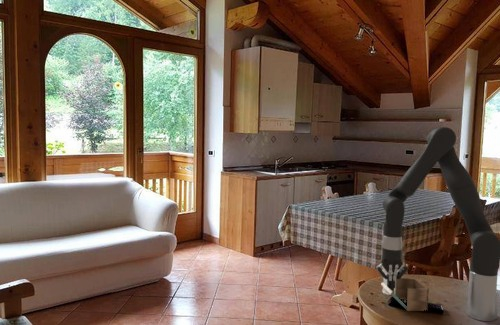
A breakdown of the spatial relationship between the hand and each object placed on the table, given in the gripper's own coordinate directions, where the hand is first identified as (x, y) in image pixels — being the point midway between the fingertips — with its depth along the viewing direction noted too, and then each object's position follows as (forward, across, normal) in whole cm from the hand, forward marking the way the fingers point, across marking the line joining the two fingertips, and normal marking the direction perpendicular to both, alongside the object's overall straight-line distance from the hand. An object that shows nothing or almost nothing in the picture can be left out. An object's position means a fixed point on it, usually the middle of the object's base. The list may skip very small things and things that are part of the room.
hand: (391, 288), depth 165 cm
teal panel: (+6, +4, 0) cm, 8 cm away
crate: (+7, +8, 0) cm, 11 cm away
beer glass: (+7, +4, +12) cm, 15 cm away
